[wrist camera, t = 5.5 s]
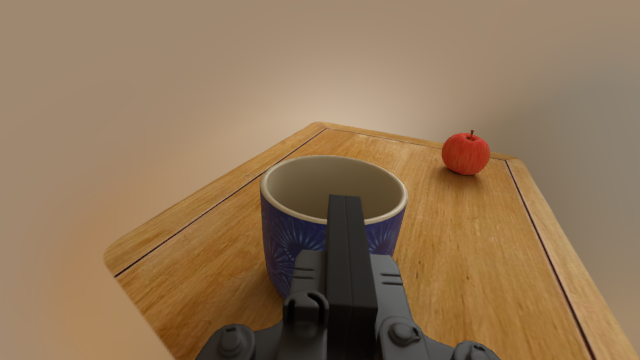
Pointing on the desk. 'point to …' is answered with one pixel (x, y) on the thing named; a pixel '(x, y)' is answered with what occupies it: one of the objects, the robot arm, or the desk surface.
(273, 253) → the planter
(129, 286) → the desk surface
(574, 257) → the desk surface
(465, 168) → the apple
